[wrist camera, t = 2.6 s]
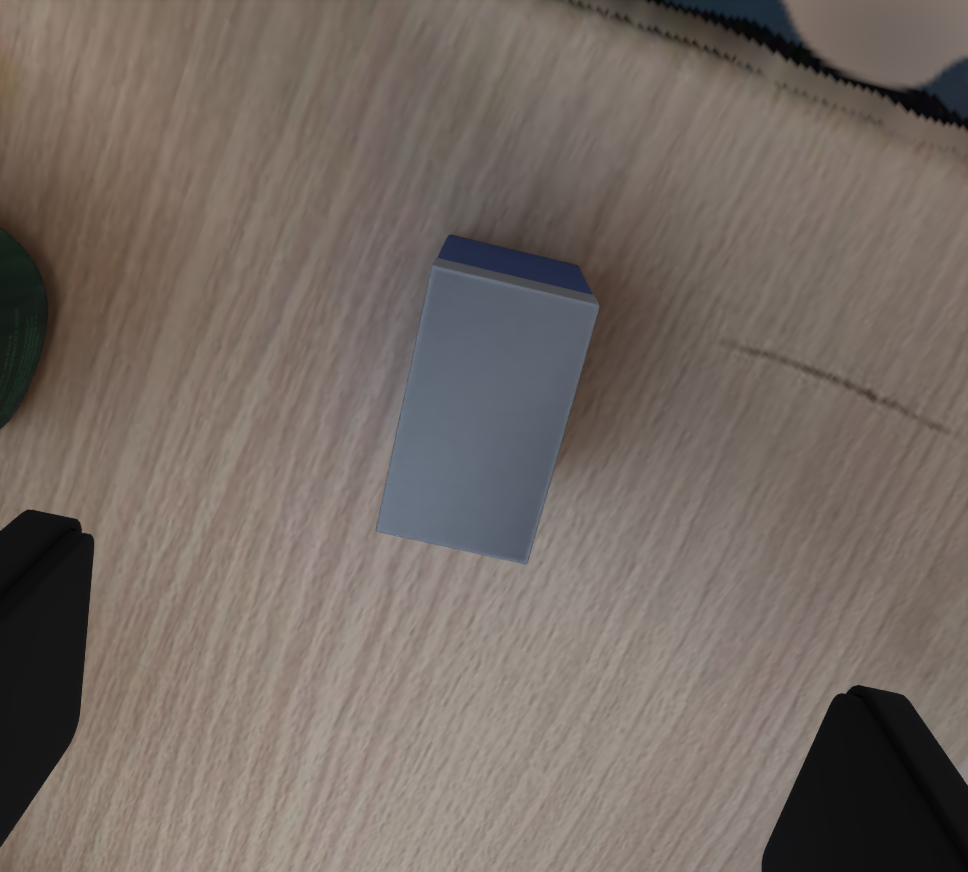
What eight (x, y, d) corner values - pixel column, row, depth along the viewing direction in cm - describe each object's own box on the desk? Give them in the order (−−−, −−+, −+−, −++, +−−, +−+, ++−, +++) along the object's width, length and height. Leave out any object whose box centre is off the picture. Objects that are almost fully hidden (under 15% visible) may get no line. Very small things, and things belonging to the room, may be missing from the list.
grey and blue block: (580, 264, 26) (600, 304, 20) (522, 477, 28) (527, 565, 23) (447, 233, 26) (431, 264, 20) (401, 449, 28) (375, 532, 23)
